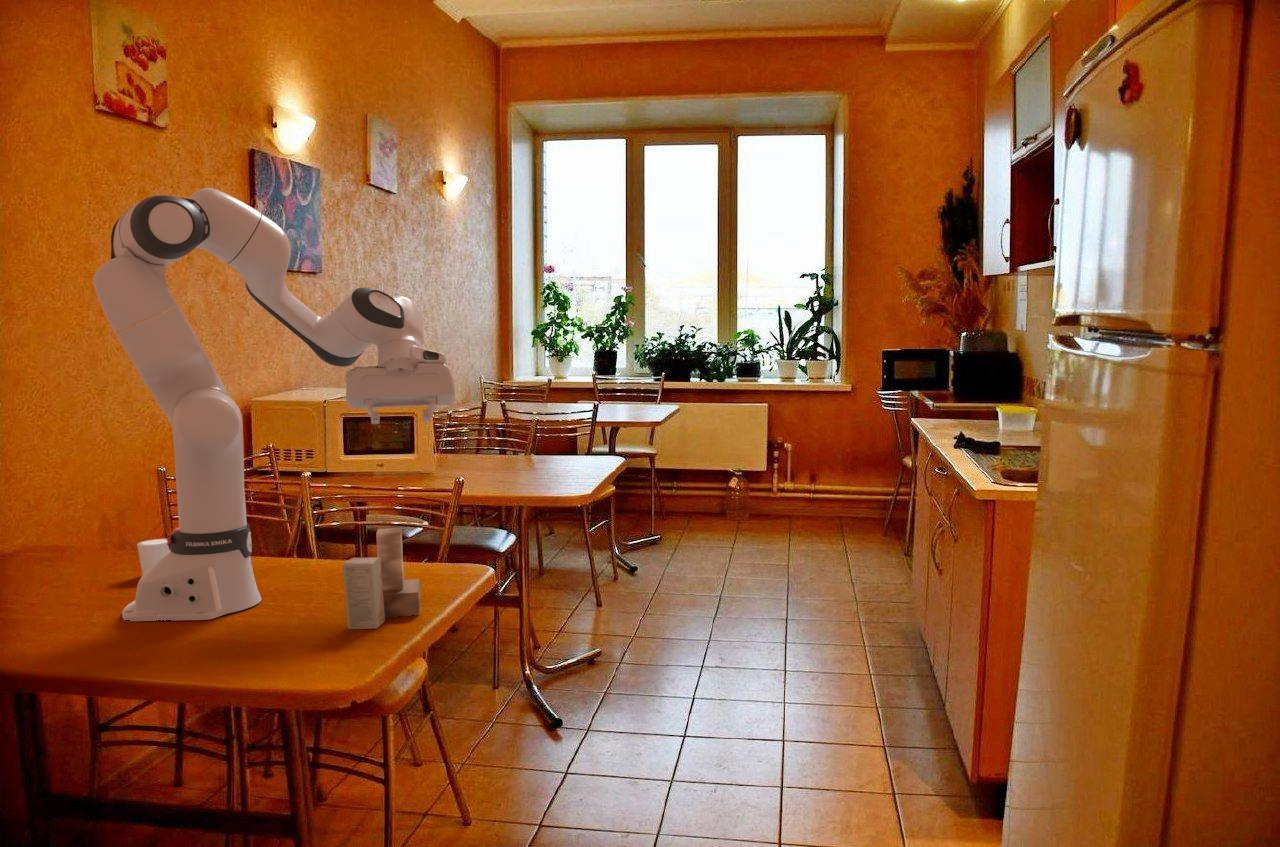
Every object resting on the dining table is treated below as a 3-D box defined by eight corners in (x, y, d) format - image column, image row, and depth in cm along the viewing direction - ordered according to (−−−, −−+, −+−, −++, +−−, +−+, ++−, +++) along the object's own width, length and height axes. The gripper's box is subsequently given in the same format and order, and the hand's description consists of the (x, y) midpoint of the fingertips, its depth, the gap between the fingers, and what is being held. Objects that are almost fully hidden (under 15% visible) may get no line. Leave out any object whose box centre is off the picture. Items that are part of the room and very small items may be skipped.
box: (386, 621, 167) (382, 556, 166) (376, 629, 163) (373, 563, 162) (355, 621, 168) (352, 556, 167) (345, 629, 164) (342, 563, 163)
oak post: (379, 591, 171) (376, 533, 170) (380, 585, 175) (377, 529, 174) (403, 589, 172) (400, 532, 171) (404, 583, 176) (401, 527, 175)
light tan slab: (364, 619, 169) (363, 596, 168) (368, 604, 178) (367, 582, 177) (419, 615, 171) (418, 592, 170) (420, 600, 179) (419, 578, 179)
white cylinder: (170, 569, 206) (168, 536, 206) (182, 575, 201) (179, 541, 201) (135, 575, 202) (132, 541, 201) (145, 582, 197) (143, 547, 196)
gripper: (344, 356, 191) (341, 412, 183) (452, 353, 195) (455, 407, 187) (347, 378, 196) (345, 433, 188) (453, 374, 200) (456, 428, 191)
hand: (401, 420), depth 187 cm, fingers open, 8 cm apart
